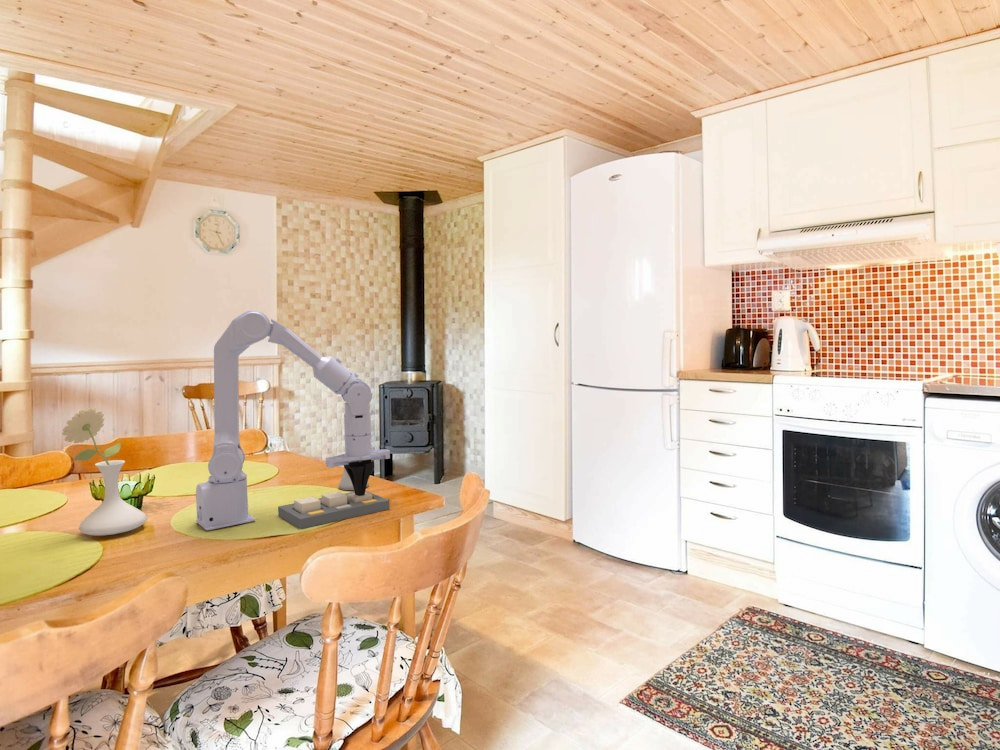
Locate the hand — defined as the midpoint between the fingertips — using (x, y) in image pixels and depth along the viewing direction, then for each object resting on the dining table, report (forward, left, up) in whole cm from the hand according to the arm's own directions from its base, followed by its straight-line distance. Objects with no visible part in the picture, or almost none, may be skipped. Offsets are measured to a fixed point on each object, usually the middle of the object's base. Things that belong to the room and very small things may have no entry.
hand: (359, 494), depth 135 cm
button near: (-12, 0, -1) cm, 12 cm away
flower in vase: (-45, +18, -3) cm, 49 cm away
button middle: (-6, 0, -1) cm, 6 cm away
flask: (+7, +17, -3) cm, 19 cm away
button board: (-6, 0, -3) cm, 7 cm away
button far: (0, 0, -2) cm, 2 cm away
